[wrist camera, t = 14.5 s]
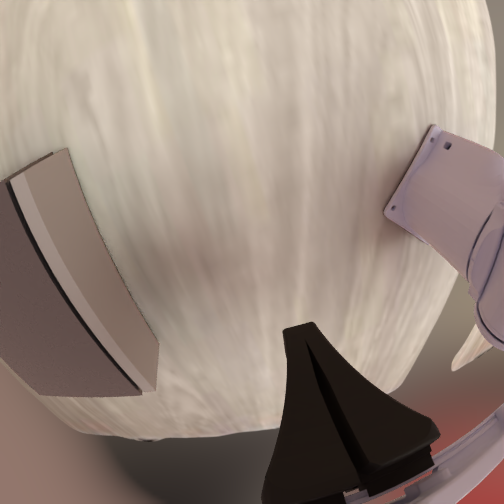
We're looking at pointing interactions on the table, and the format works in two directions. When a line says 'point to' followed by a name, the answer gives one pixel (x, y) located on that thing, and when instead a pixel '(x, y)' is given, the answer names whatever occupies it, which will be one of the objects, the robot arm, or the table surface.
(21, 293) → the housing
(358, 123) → the table surface
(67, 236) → the tray
